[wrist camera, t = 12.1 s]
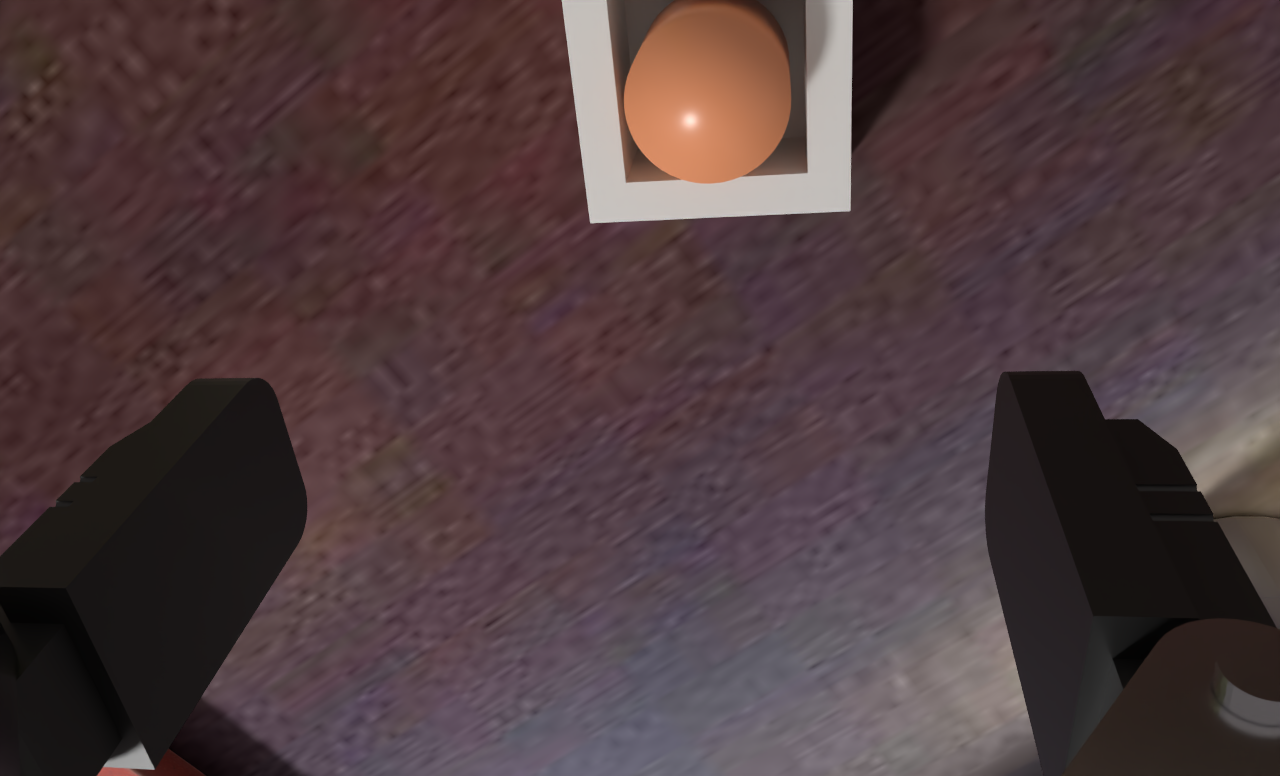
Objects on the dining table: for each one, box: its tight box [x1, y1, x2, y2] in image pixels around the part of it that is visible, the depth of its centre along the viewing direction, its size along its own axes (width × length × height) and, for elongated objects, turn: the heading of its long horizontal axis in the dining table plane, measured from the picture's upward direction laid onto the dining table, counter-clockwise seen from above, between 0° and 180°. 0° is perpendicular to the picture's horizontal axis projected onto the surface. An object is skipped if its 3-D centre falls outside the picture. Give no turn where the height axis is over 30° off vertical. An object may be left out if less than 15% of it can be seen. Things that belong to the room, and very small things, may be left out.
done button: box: [624, 0, 791, 184], centre depth 26 cm, size 4×4×4 cm
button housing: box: [562, 0, 853, 223], centre depth 27 cm, size 7×7×4 cm
